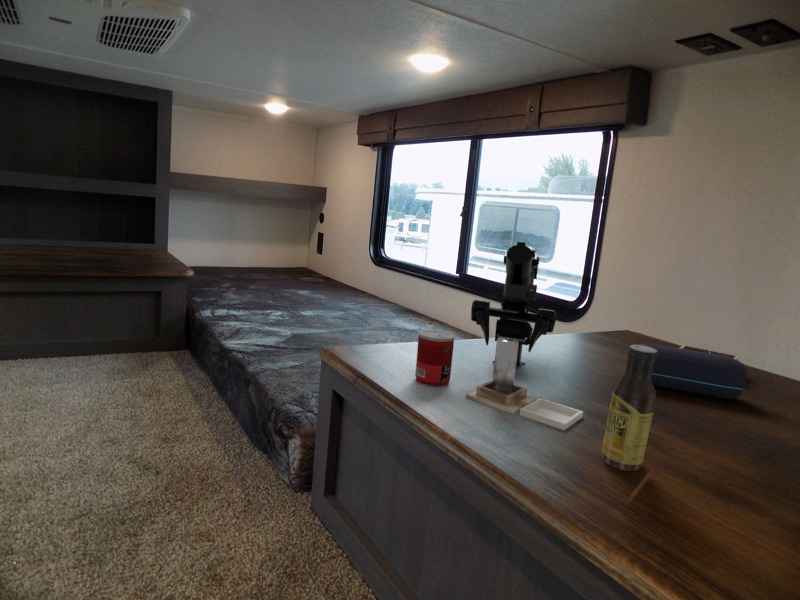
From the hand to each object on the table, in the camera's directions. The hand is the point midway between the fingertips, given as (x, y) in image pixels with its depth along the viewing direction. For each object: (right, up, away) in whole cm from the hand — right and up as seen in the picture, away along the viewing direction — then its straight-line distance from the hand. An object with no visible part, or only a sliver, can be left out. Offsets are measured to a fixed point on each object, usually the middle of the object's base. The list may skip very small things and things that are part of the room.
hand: (508, 347), depth 112 cm
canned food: (-16, -8, +4) cm, 19 cm away
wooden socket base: (-3, -11, -6) cm, 13 cm away
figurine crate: (+61, -9, +29) cm, 68 cm away
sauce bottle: (+12, -16, -30) cm, 36 cm away
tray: (+6, -13, -13) cm, 19 cm away
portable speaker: (+44, -12, +12) cm, 47 cm away
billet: (-3, -10, -6) cm, 12 cm away
